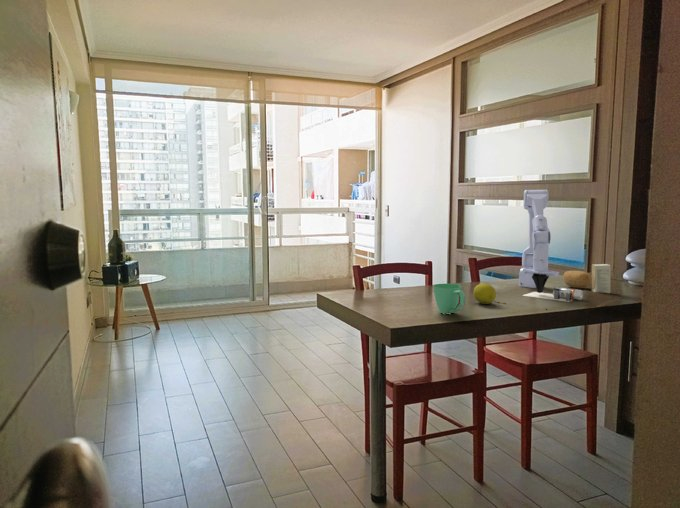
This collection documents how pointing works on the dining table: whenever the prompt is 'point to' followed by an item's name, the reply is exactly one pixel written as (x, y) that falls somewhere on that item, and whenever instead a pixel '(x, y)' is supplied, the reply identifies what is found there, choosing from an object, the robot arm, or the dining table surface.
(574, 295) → the tube
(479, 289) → the lemon
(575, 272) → the potato
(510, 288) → the dining table surface
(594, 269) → the skincare box
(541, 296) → the board
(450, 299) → the mug
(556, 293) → the collar
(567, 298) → the collar
